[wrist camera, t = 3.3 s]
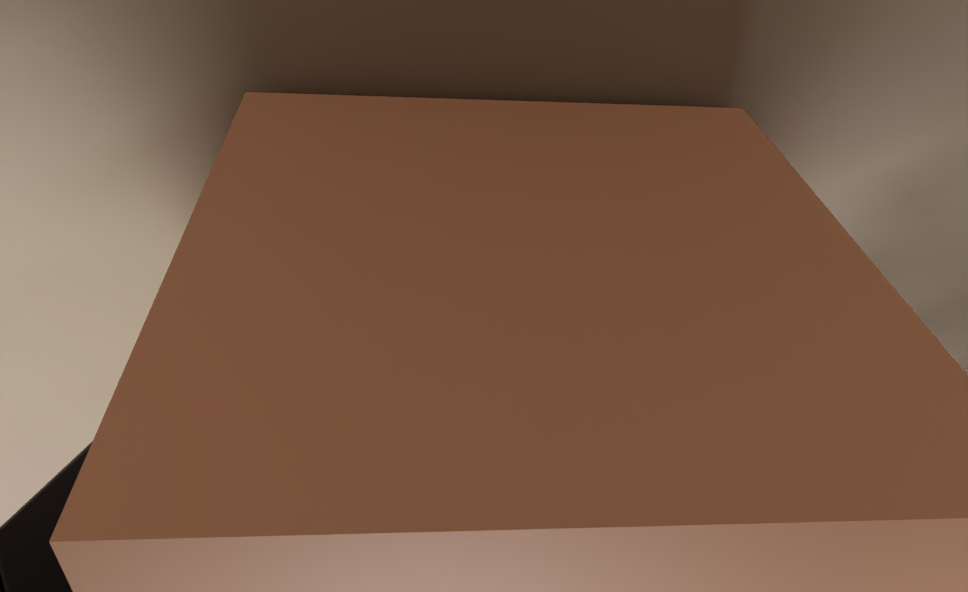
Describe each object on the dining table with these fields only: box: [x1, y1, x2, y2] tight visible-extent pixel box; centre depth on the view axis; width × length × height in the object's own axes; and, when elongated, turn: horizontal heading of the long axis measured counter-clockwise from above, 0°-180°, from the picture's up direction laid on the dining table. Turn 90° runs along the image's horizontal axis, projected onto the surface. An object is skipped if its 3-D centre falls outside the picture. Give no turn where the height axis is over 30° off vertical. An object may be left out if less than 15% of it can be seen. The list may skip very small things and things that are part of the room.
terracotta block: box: [49, 92, 968, 592], centre depth 8 cm, size 6×6×6 cm
